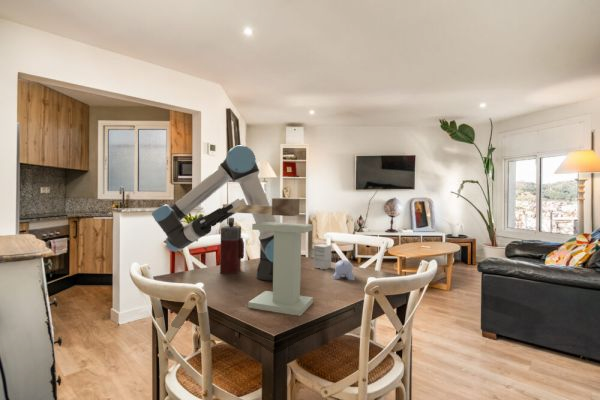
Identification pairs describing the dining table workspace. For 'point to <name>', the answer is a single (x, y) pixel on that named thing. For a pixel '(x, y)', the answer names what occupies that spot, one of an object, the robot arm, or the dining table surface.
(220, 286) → the dining table surface
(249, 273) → the dining table surface
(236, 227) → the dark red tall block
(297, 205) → the mallet
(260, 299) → the stand
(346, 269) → the hippopotamus toy
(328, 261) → the supplement box
